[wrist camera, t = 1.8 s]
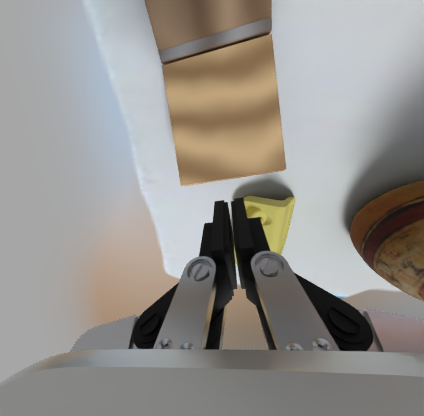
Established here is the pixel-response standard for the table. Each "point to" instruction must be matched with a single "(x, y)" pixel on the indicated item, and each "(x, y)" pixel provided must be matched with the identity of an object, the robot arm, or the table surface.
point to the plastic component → (271, 218)
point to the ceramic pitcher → (394, 237)
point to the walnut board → (205, 25)
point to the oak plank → (226, 113)
